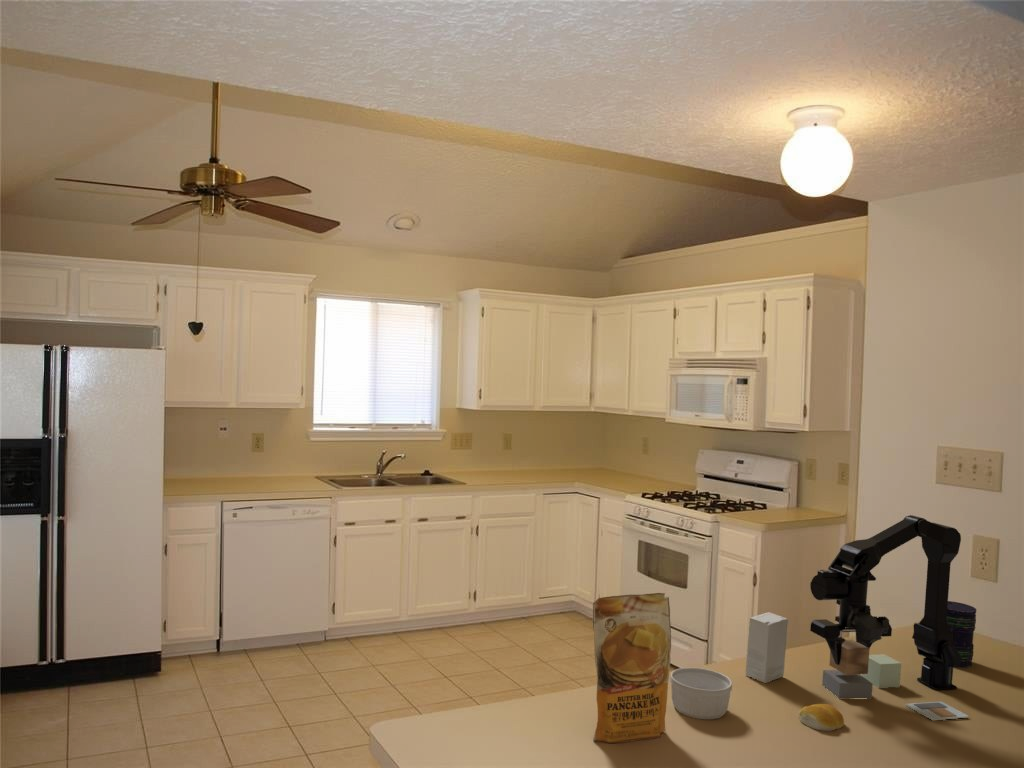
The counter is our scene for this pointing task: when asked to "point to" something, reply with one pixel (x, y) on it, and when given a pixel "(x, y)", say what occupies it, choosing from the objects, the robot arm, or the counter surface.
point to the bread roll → (821, 717)
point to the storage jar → (962, 630)
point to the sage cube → (883, 671)
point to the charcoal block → (847, 684)
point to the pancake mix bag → (631, 666)
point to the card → (937, 710)
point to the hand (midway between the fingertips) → (848, 663)
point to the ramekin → (700, 692)
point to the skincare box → (766, 647)
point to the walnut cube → (852, 658)
